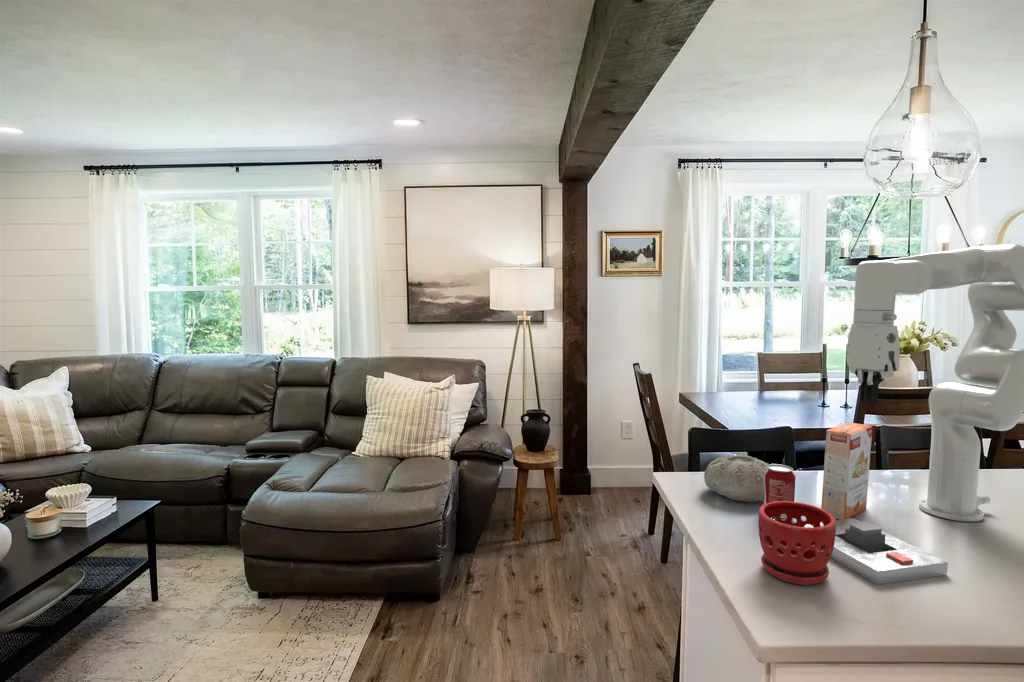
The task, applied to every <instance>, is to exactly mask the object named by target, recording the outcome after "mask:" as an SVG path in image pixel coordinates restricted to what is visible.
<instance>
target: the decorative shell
mask: <svg viewBox="0 0 1024 682" xmlns="http://www.w3.org/2000/svg"><path fill="white" fill-rule="evenodd" d="M768 465H769V462H765V461H763V460H761V459H758V458H757V457H753V456H750V455H745V454H742V455H738V454H737V455H733V454H728V455H723V456H720V457H719V456H717V457H716V459H714V460H712V461H710V462H709V464H708V465H707V466H706V469H705V470H704V473H703V478H704V479H703V480H704V484H705V485H706V488H708V489H709V490H711V491H712V492H715V493H716V494H718V495H722V496H724V497H726V498H727V499H728V498H729V499H732V500H733V501H738V502H745V503H746V502H750V503H752V502H760V501H763V484H764V472H765V471H766V470H767V466H768Z"/></svg>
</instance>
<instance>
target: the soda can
mask: <svg viewBox="0 0 1024 682" xmlns="http://www.w3.org/2000/svg"><path fill="white" fill-rule="evenodd" d="M793 471H794V469H793V467H791V466H789V465H785V464H778V463H771V464H768V466H767V470H766V471H765V472H764V484H763V500H762V505H764V504H766V503H769V502H776V501H790V502H795V499H796V498H795V494H796V475H795V473H794V472H793ZM770 518H772V519H776V518H775V517H774V516H772V517H770ZM780 518H781V519H782V520H785V519H786V518H787V516H786V514H781V516H780Z"/></svg>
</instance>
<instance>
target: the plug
mask: <svg viewBox="0 0 1024 682" xmlns="http://www.w3.org/2000/svg"><path fill="white" fill-rule="evenodd" d="M881 531H883V530H882V528H881V527H878V526H876V525H874V524H873V523H870V522H863V523H858V524H850V528H846V532H845V541H846V542H848V543H850V544H852V545H854V546H856V547H858V548H860V549H861V550H863V551H865V552H867V553H876V552H884V549H885V534H883V533H881Z"/></svg>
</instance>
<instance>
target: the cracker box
mask: <svg viewBox="0 0 1024 682" xmlns="http://www.w3.org/2000/svg"><path fill="white" fill-rule="evenodd" d="M825 434H826V435H825V446H824V447H825V449H824V450H825V451H824V464H823V475H822V477H823V478H822V490H821V492H822V493H821V507H820V508H821V509H823V510H825V511H827V512H829V513H830V514H831V515H833V517H834V518H835V520H837V519H838V520H843V519H852V518H854V516H856V515H858V514H859V513H861V512H862V511H864V510H866V509H867V501H868V489H869V477H870V476H869V475H870V464H871V449H872V437H873V426H872V425H869V424H862V423H855V422H845V423H843V424H841V425H838V426H834V427H832V428H829V429H827V430H826V433H825Z"/></svg>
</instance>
